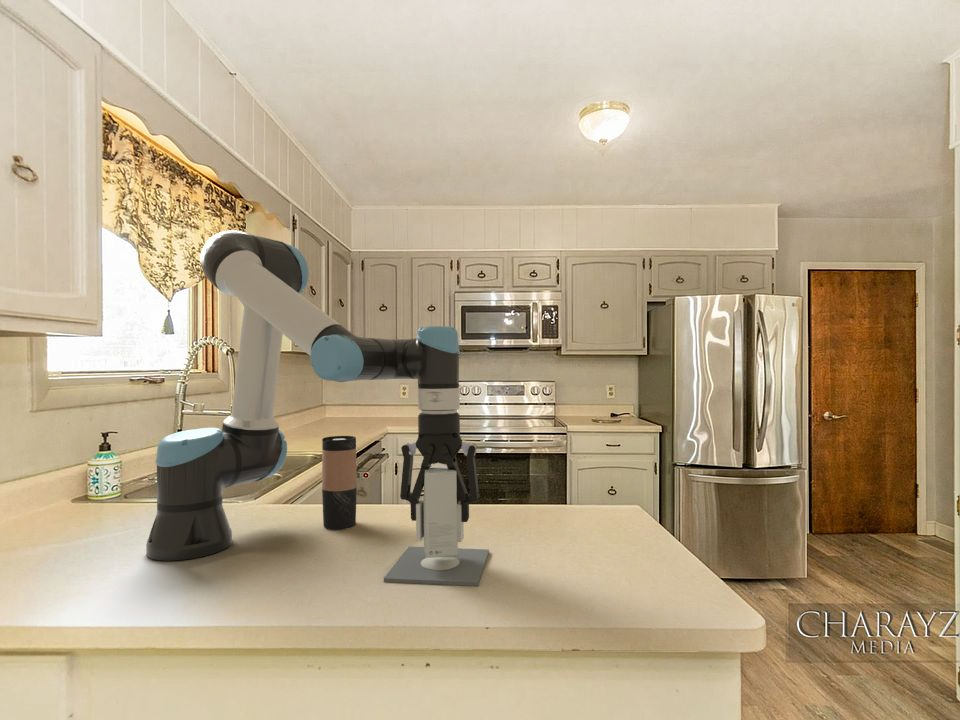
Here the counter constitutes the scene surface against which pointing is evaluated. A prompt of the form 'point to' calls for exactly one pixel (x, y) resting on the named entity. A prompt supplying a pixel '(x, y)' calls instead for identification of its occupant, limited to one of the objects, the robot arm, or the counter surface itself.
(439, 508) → the skincare box
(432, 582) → the mat
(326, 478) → the travel mug
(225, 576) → the counter surface
